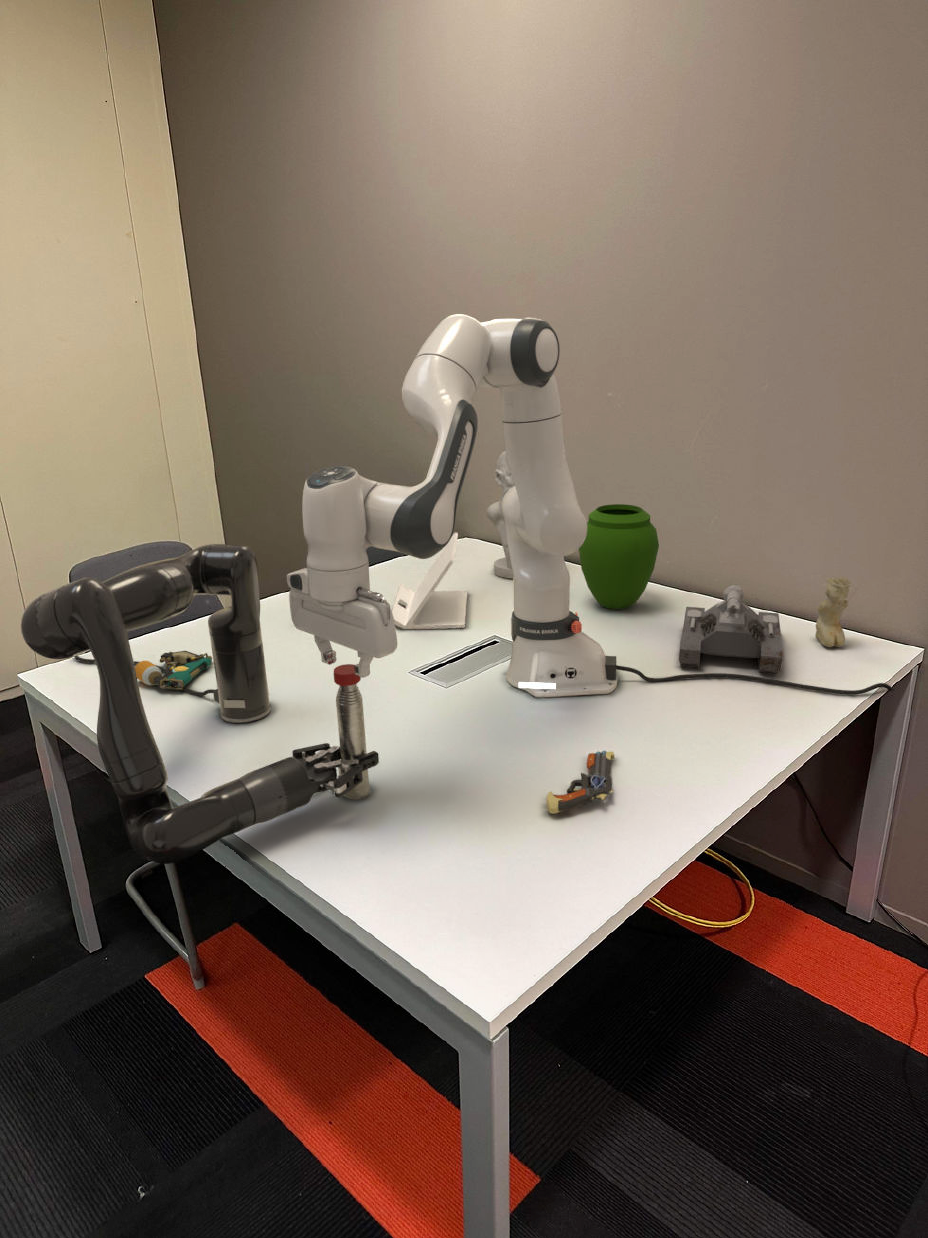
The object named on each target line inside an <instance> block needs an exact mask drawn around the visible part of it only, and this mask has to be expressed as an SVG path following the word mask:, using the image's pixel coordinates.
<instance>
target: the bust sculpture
mask: <svg viewBox="0 0 928 1238" xmlns="http://www.w3.org/2000/svg"><path fill="white" fill-rule="evenodd" d="M494 480H495V482H496V484H497V486H498V487H501V488H502V494H501V497H500V499H499V501H496V502H494V503H492V504H491V505H490V506H488V508H487V509H486V513H485V514H486V517H487V518H488V519H489V520H490V522H491V523H492V524H493V526H494V527H495V529H496V532H497V534H498V537H499V540H500V542H501V546H502V548H503V553H504V557H502V558H498V559H496V560H495V561H494V562H493V573H494V574H495V575H496V576H497V577H500V578H506V579H513V571H512V565H511V559H510V554H509V548H508V542H507V535H506V529H505V524H504V520H503V517H502V514H501V502H502V499H503V497H504V495H505V494H506V493H507V491H508V490H510V489H511V488H512V487H514V486H515V484H514V481H513V477H512V474H511V472H510V470H509V468H508V465H507V462H506V454H505V450H504V451H502V452H501V454H500V455H499V457H498V459H497V461H496V468H495V471H494Z"/></svg>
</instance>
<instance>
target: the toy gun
mask: <svg viewBox="0 0 928 1238" xmlns="http://www.w3.org/2000/svg"><path fill="white" fill-rule="evenodd" d="M615 758H616V757H615V753H614V751H613V750H610V751H607V750H602V752H601V751H599V750H598V751H596V752H593V753H588V755H587V759H586V768H587V770H588V771H589V773H588V774H587V773H584V772H581V773H580V779H574V780H572V781H571V782H570V786H569V787H568V788H567V790H566V794H555V793H554V792H552V791H549V792H547V795H546V808H547V811H548V813H549V814H558V813H560V812H564V811H568V810H571V809H575V808H577V807H580V806H583V805H587V804H590V803H592V802H594V801H597V800H599V799H600V800H601V801H604V800H605V799H606V798H607V797H608V794H612V793H613V778H612V776H611V765H612V760H615ZM576 787H580V788H579V789H578V788H576Z"/></svg>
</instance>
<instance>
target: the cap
mask: <svg viewBox="0 0 928 1238" xmlns="http://www.w3.org/2000/svg"><path fill="white" fill-rule="evenodd" d="M354 665H355V664H351V663H346V664H341V665H338V666H336V667H335V668H333V682H334V684H336V685H337V686H339V685H341V686H350V685H354V684H357V685H358V684H359V683H360V682H361V679H362V677H359V676H357V675H355V669H354Z"/></svg>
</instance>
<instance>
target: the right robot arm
mask: <svg viewBox="0 0 928 1238" xmlns="http://www.w3.org/2000/svg"><path fill="white" fill-rule="evenodd" d="M560 352H561V349H560V341H559V338H558V335H557V333H556V331H555V330H554V328H553V327H552V326H551V324H550V323H549V322H548V321H547V320H543V319H540V318H535V317H524V318H495V319H492V320H487V321H482V322H480V321H479V320H477V319H476V318H475V317H472V316H470V315H467V314H462V313H457V314H452V315H451V314H450V315H448V316H446V317H445V318H444V319H442V320H441V321H440V322H439V324H437V326H436V327H435V328H434V329H433V331H431V333H430V334H429V336H428V337H427V339H426V340H425V342H424V343H423V344H422V346H421V347H420V349H419V350H418V352H417V353H416V355H415V358H414V360H413V361H412V364H411V365H410V367H409V369H408V371H407V372H406V375H405V376H404V380H403V382H402V387H401V398H402V403H403V406H404V409H405V410H406V413H407V414H408V415H409V417H410V418H411V419H412V420H413V422H414V423H416V425H417V426H418V427H420V429H422V430H424V432H426V433H428V434H430V435H432V436H434V437H435V438H437V442H436V446H435V449H434V452H433V455H432V459H431V462H430V464H429V468H428V471H427V474H426V477H425V479H424V480H423V481H422V482H420V483H419V484H416V485H413V486H407V485H399V484H391V483H387V482H379V481H375V480H373V479H369V478H367V477H364V476H362V475H360V474H359V473H358V471H357V470H356V469H355V468H353V467H350V466H345V465H336V466H334V465H333V466H330V467H324V468H320V469H317V470H316V471H314V472H312V473H311V474H310V475H308V477H306V479H305V482H304V486H303V490H302V501H301V504H302V505H301V506H302V508H301V509H302V511H301V512H302V513H301V514H302V525H303V526H302V527H303V536H304V540H305V543H306V545H307V556H306V567H304V568H301V569H299V570H294V571H293V572H289V573H288V574H286V584H287V586H288V588H290V590H289V592H288V593H289V594H288V600H289V611H290V616H291V617H290V618H291V622H292V624H293V625H294V627H295V629H296V630H299V631H301V632H305V633H307V634H310V635H312V636H313V638H314V643H315V644H316V647H317V649H318V650H319V652H320V657H321V658H320V659H321V662H322V663H323V664H327V665H332V664H335V663H336V662H337V651H336V650H334V649H333V647H332V644H331V643H334V644H337V645H338V646H339V645H340V646H343V647H345V648H347V649H350V650H353V651H356V653H357V657H358V658H359V662H358V663H356V664H353V665H354V669H355V675H357V676H359V677H361V679H364V678H367V677H369V676H370V675H371V664H372V661H373V659H374V658H375V659H382V658H385V657H387V656H389V655H392V654H393V653H394V652H395V651H396V650H397V648H398V637H397V636H398V635H397V630H396V629H397V628H396V624H395V623H394V617H393V614H392V611H391V610H392V607H391V605H390V603H389V602H388V601H387V600H386V598H385V597H384V595H383V594H382V593H380V592H376V591H372V590H371V581H370V565H369V556H368V553H367V550H368V548H371V547H373V548H376V549H379V550H380V549H382V550H385V551H386V550H387V551H392V552H397V553H400V554H403V555H407V556H410V557H413V558H416V559H419V560H428V559H430V558H432V557H434V556H436V555H437V554H438V553H439V552H442V551H443V549H444V548H445V546H446V545H447V543H448V542H449V541H450V539H451V537H452V536H453V534H454V530H455V524H456V516H457V507H458V503H459V499H460V496H461V493H462V488H463V484H464V483H465V478H466V476H467V472H468V468H469V465H470V462H471V459H472V455H473V451H474V448H475V447H474V446H475V443H476V438H477V434H478V426H479V425H478V424H479V419H478V414H477V411H476V409H475V408H474V406H473V402H474V401H473V400H474V398H475V395H476V394H477V392H478V389H479V388H482V389H500V390H499V404H500V417H501V418H500V419H501V427H502V435H503V444H504V445H503V447H504V451H505V454H506V462H507V465H508V468H509V470H510V472H511V474H512V477H513V481H514V484H515V486H514V487H512V488H511V489H510V490H508V491H507V493H506V494H505V495H504V497H503V499H502V502H501V514H502V517H503V520H504V524H505V529H506V535H507V542H508V548H509V554H510V559H511V565H512V571H513V578H512V580H513V583H512V586H513V587H512V588H513V589H512V590H513V611H512V612H511V618H510V635H511V640H512V645H511V646H512V647H511V655H510V660H509V665H508V669H507V672H506V675H505V678H506V681H507V683H509V684H510V685H511V686H513V687H515V688H517V689H519V690H522V691H525V692H527V693H529V694H530V695H531V696H533V697H535V698H556V697H572V696H573V697H574V696H588V695H589V696H590V695H591V696H592V695H607V694H611V693H612V692H613V691H615V690H616V688H617V686H618V673H617V670H618V671H622V672H623V671H624V672H629V673H633V674H635V675H637V676H638V677H640V678H641V679H642V680H643V681H645V682H650V683H664V682H665V683H666V682H673V681H676V680H683V679H685V680H687V679H702V678H704V679H705V678H726V679H740V680H749V681H754V682H761V683H762V682H763V683H769V684H773V685H775V684H776V685H780V686H786V687H792V688H796V689H803V690H807V691H809V690H810V691H815V692H821V693H828V694H836V695H847V696H848V695H849V696H850V695H851V696H855V695H862V694H865V693H869V692H871V691H873V690H876V689H878V688H885V689H886V690H887V691H890V692H893V691H895V689H894V688H893V687H892V686H891V685H890V684H887V683H885V682H878V683H875V684H872V685H870V686H868V687H865V688H862V689H856V690H855V689H853V690H851V689H850V690H848V689H835V688H830V687H822V686H815V685H809V684H803V683H797V682H791V681H786V680H781V679H775V678H769V677H761V676H755V675H748V674H739V673H723V672H721V673H720V672H719V673H718V672H707V673H706V672H705V673H690V674H689V673H688V674H677V675H671V676H667V677H659V678H658V677H656V678H655V677H650V676H646V675H645V674H644V673H643V672H641V671H640V670H639V669H636V668H633V667H629V666H623V665H618V664H617V655H606V654H605V651H604V648H603V647H602V645H601V644H600V643H599V642H598V641H596V640H595V639H593V638H591V637H590V636H589V635H587V634H586V633H585V632H583V631H582V630H583V626H582V625H583V624H582V622H581V621H580V616H579V615H578V612H577V611H575V613H574V612H573V611H571V610H570V590H571V589H570V586H571V585H570V584H571V578H570V577H571V576H570V572H569V569H568V567H567V563H566V561H565V560H566V559H565V557H566V556H569V555H572V554H574V553H575V552H577V551H579V548H580V547H581V545H582V544H583V542H584V540H585V538H586V535H587V522H588V521H587V520H586V517H585V515H584V513H583V511H582V509H581V506H580V504H579V500H578V496H577V492H576V488H575V484H574V480H573V478H572V473H571V471H570V466H569V463H568V458H567V453H566V444H565V435H564V433H565V432H564V424H563V412H562V401H561V397H560V396H561V395H560V390H559V386H558V381H557V378H556V374H555V371H556V369H557V367H558V363H559V360H560Z"/></svg>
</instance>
